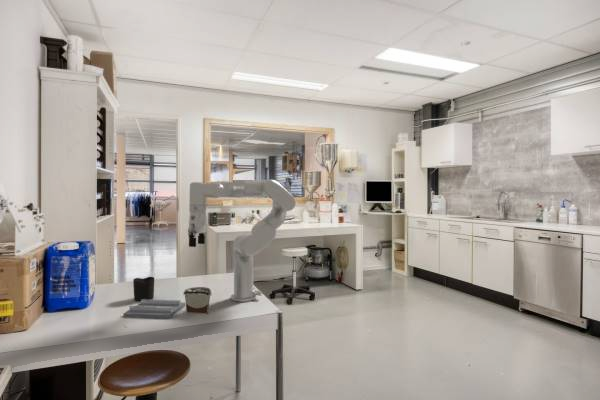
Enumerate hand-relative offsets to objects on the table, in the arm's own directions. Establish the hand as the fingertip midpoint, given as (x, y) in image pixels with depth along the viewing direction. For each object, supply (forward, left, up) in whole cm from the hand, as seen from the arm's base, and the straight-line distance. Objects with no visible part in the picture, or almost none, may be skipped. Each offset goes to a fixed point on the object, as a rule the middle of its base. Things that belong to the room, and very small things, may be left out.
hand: (197, 245), depth 160 cm
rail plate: (+14, +11, -28) cm, 33 cm away
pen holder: (+28, -5, -28) cm, 40 cm away
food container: (-5, +9, -28) cm, 30 cm away
